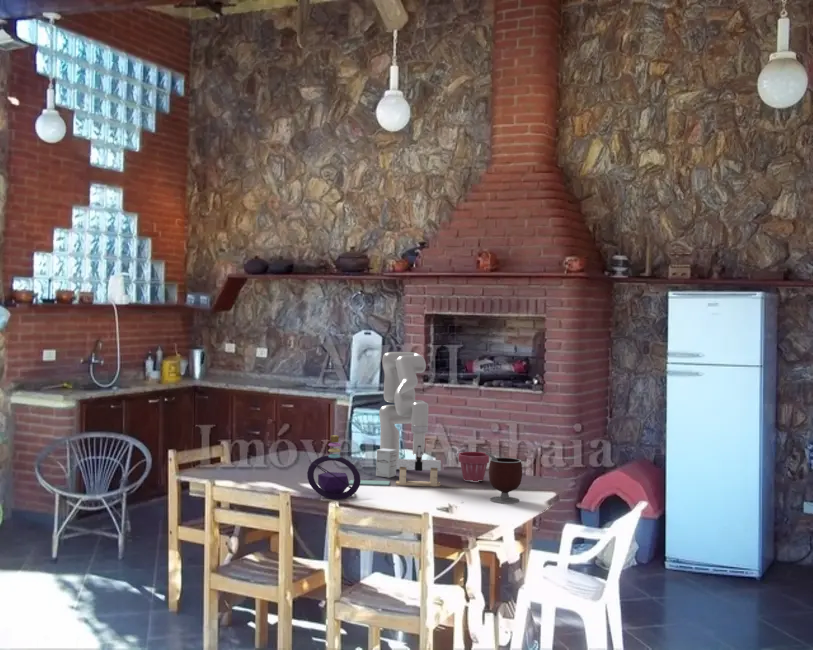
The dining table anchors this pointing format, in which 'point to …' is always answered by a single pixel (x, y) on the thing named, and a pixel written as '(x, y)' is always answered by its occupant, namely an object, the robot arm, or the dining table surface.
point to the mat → (371, 482)
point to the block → (425, 464)
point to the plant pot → (473, 465)
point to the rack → (418, 483)
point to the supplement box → (386, 462)
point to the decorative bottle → (333, 476)
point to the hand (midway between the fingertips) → (418, 469)
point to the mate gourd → (505, 478)
